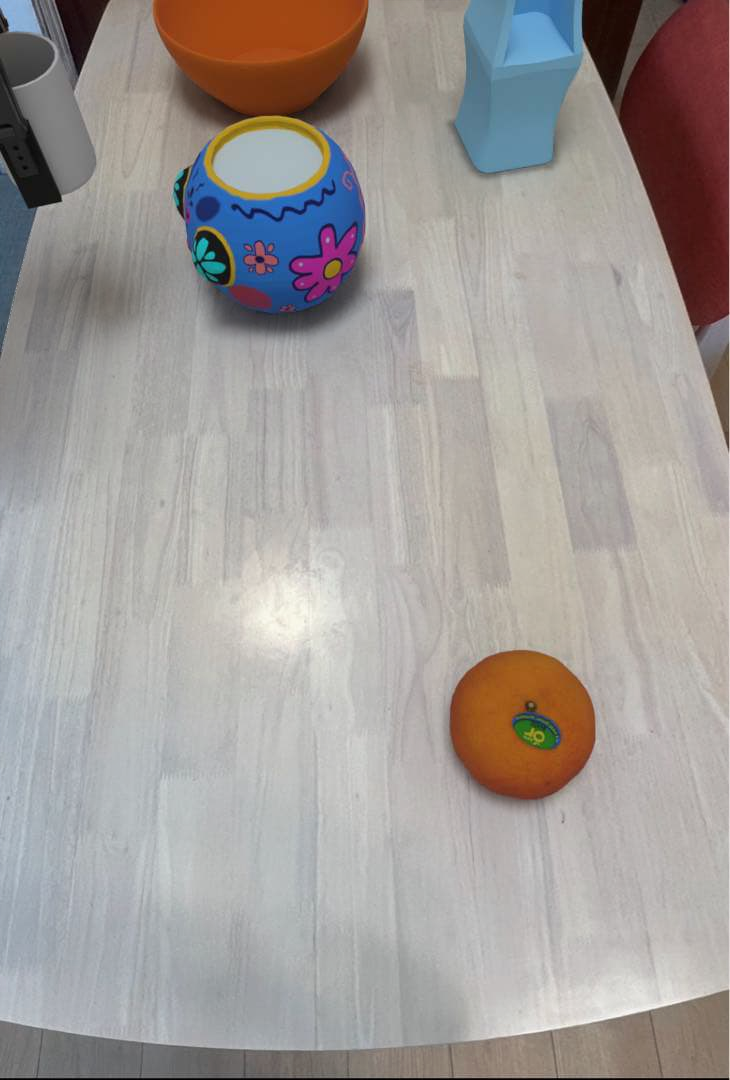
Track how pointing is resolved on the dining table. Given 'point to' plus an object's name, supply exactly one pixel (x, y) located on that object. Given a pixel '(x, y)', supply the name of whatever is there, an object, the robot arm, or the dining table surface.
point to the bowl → (262, 48)
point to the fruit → (522, 724)
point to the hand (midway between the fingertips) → (39, 170)
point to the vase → (516, 79)
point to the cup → (48, 107)
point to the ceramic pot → (272, 213)
